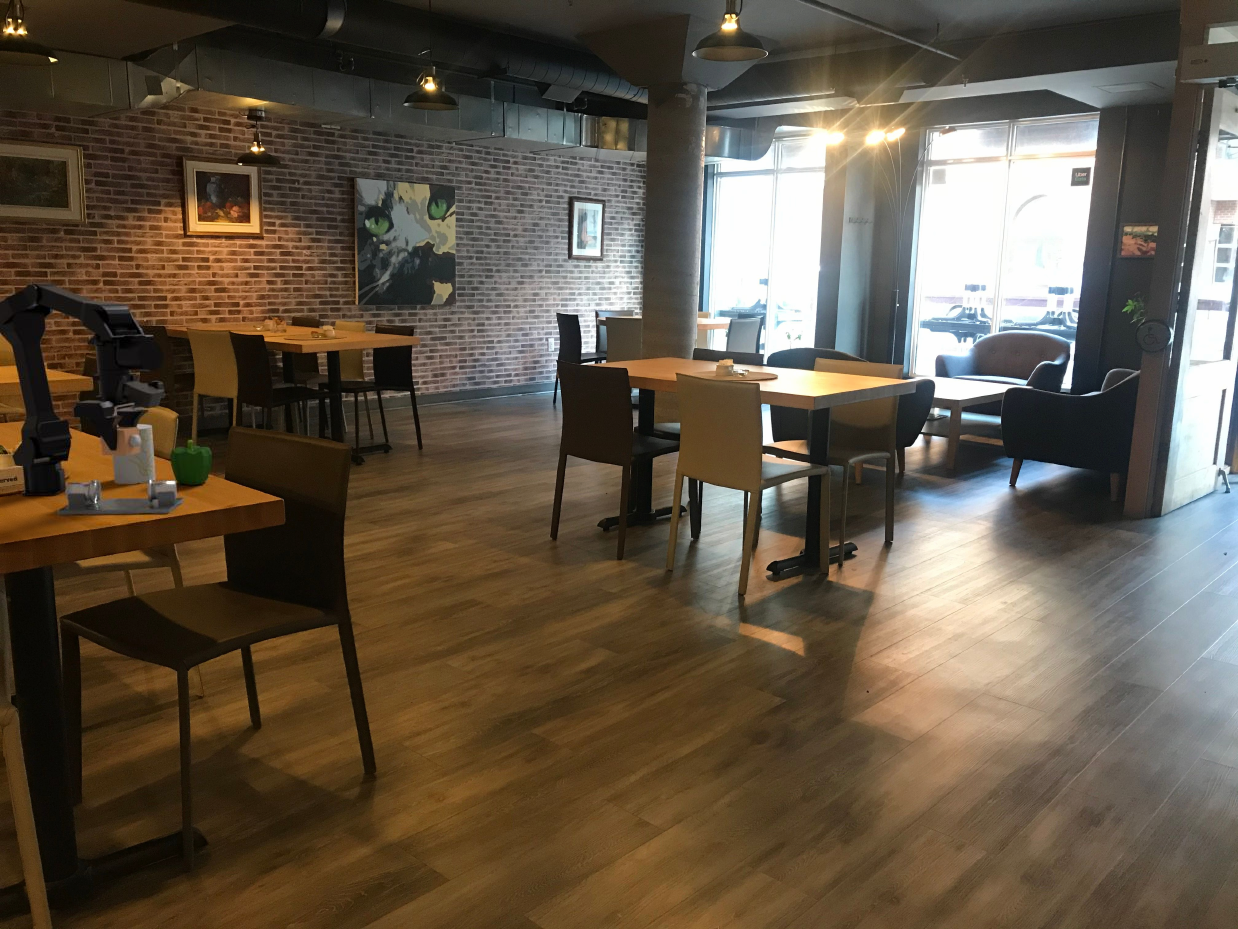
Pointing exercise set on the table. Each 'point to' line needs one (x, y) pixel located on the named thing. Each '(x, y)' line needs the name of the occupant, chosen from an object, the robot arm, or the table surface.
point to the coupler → (124, 442)
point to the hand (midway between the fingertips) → (121, 448)
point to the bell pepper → (191, 464)
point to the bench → (107, 502)
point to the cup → (137, 461)
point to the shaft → (162, 492)
